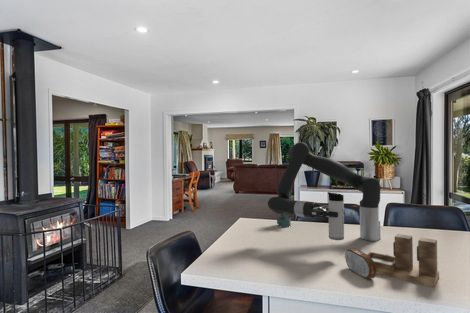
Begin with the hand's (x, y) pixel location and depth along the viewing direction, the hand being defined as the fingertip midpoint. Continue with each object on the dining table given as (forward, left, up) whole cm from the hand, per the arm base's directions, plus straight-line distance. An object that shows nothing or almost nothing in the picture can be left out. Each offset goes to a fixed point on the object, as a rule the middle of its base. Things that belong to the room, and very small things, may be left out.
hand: (341, 213), depth 121 cm
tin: (+4, +15, -20) cm, 25 cm away
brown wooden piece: (-11, +19, -20) cm, 29 cm away
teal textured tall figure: (-5, -62, -20) cm, 65 cm away
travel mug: (+1, -2, -11) cm, 11 cm away
